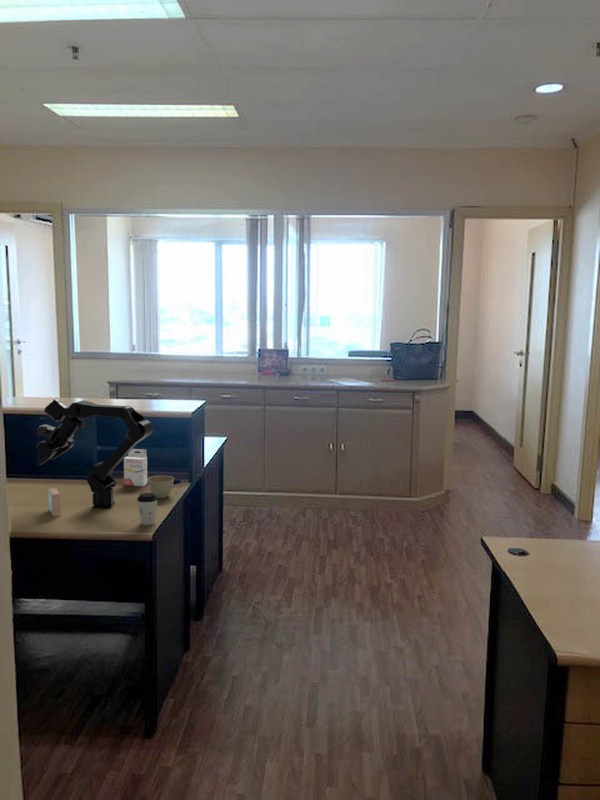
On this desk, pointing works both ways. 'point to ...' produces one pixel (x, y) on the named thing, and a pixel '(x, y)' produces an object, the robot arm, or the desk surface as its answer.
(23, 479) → the desk surface
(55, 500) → the tile
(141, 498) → the coffee cup
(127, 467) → the ink cartridge box
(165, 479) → the beige bowl
